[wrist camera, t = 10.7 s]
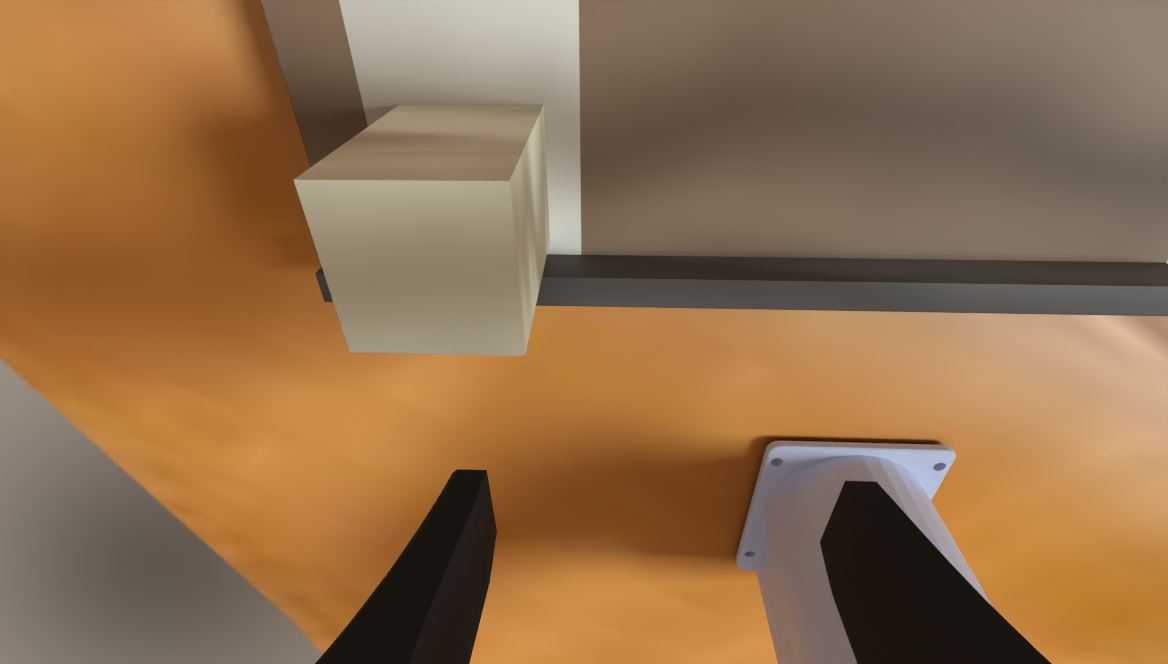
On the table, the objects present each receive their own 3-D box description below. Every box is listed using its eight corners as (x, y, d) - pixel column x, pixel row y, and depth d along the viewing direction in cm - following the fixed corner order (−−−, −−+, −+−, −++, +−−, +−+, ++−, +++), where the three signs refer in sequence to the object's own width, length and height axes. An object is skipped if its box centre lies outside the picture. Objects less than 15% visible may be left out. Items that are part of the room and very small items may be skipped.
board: (1110, 268, 18) (1187, 316, 16) (361, 257, 19) (324, 301, 17) (1315, -58, 13) (1477, -61, 11) (277, -50, 14) (206, -51, 12)
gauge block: (550, 239, 17) (525, 356, 12) (424, 238, 17) (349, 352, 12) (543, 104, 15) (509, 181, 10) (398, 104, 15) (293, 179, 10)
